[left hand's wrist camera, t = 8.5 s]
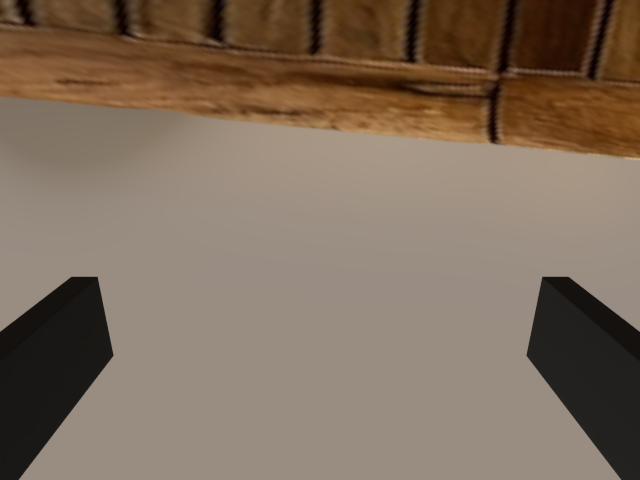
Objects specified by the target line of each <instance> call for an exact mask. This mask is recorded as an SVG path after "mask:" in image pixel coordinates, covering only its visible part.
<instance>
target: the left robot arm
mask: <svg viewBox="0 0 640 480" xmlns="http://www.w3.org/2000/svg"><path fill="white" fill-rule="evenodd" d="M112 357H113V351H112V346H111V341H110V336H109V331H108V326H107V321H106V316H105V311H104V306H103V301H102V296H101V292H100V287H99V282H98V277H71V278H69V279H68V280H67V281H66V282H64V283H63V284H62V285H60V286H59V287H58V288H57V289H55V290H54V291H53V292H51V293H50V294H49V295H47V296H46V297H45V298H43V299H42V300H41V301H40V302H38V303H37V304H36V305H34V306H33V307H32V308H31V309H29V310H28V311H27V312H25V313H24V314H23V315H21V316H20V317H19V318H18V319H16V320H15V321H14V322H12V323H11V324H10V325H8V326H7V327H6V328H5V329H3V330H2V331H1V332H0V480H19V479H20V477H21V476H22V475H23V473H24V472H25V471H26V469H27V468H28V467H29V465H30V464H31V463H32V462H33V460H34V459H35V458H36V456H37V455H38V454H39V452H40V451H41V450H42V448H43V447H44V446H45V445H46V443H47V442H48V441H49V439H50V438H51V437H52V435H53V434H54V433H55V431H56V430H57V429H58V428H59V426H60V425H61V424H62V422H63V421H64V420H65V418H66V417H67V416H68V414H69V413H70V412H71V411H72V409H73V408H74V407H75V405H76V404H77V403H78V401H79V400H80V399H81V397H82V396H83V395H84V393H85V392H86V391H87V390H88V388H89V387H90V386H91V384H92V383H93V382H94V380H95V379H96V378H97V377H98V375H99V374H100V373H101V371H102V370H103V369H104V367H105V366H106V365H107V363H108V362H109V361H110V360H111V358H112ZM527 357H528V358H529V360H530V361H531V362H532V363H533V365H534V366H535V367H536V369H537V370H538V371H539V373H540V374H541V375H542V377H543V378H544V379H545V380H546V382H547V383H548V384H549V386H550V387H551V388H552V390H553V391H554V392H555V394H556V395H557V396H558V397H559V399H560V400H561V401H562V403H563V404H564V405H565V407H566V408H567V409H568V411H569V412H570V413H571V414H572V416H573V417H574V418H575V420H576V421H577V422H578V424H579V425H580V426H581V428H582V429H583V430H584V431H585V433H586V434H587V435H588V437H589V438H590V439H591V441H592V442H593V443H594V445H595V446H596V447H597V449H598V450H599V451H600V452H601V454H602V455H603V456H604V458H605V459H606V460H607V462H608V463H609V464H610V466H611V467H612V468H613V469H614V471H615V472H616V473H617V475H618V476H619V477H620V479H621V480H640V332H639V331H638V330H637V329H635V328H634V327H633V326H632V325H630V324H629V323H628V322H626V321H625V320H624V319H622V318H621V317H620V316H619V315H617V314H616V313H615V312H613V311H612V310H611V309H609V308H608V307H607V306H606V305H604V304H603V303H602V302H600V301H599V300H598V299H596V298H595V297H594V296H593V295H591V294H590V293H589V292H587V291H586V290H585V289H584V288H582V287H581V286H580V285H578V284H577V283H576V282H574V281H573V280H572V279H571V278H569V277H542V282H541V287H540V292H539V297H538V301H537V306H536V311H535V316H534V321H533V326H532V331H531V336H530V341H529V346H528V351H527Z"/></svg>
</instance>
